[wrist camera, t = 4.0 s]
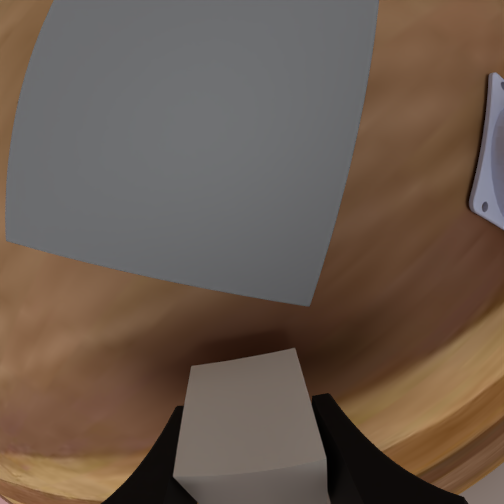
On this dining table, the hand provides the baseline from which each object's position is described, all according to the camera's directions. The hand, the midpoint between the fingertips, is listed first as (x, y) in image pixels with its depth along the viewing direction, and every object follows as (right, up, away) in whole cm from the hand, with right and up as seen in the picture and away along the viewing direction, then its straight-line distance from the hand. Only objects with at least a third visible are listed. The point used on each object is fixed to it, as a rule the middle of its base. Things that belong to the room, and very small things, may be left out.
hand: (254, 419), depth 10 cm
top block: (0, 0, +1) cm, 1 cm away
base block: (-2, +12, 0) cm, 12 cm away
